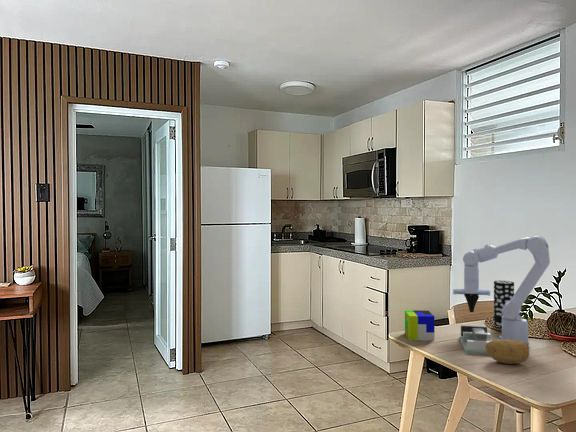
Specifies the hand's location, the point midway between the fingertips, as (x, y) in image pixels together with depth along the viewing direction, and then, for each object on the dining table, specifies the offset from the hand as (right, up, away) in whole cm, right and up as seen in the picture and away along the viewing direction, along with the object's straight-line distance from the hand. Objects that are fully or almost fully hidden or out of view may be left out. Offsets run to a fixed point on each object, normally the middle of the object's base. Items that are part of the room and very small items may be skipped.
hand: (471, 311), depth 190 cm
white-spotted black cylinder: (+20, -10, +13) cm, 26 cm away
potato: (-1, -11, -33) cm, 35 cm away
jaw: (-2, -9, -9) cm, 13 cm away
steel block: (-4, -9, -17) cm, 20 cm away
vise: (-4, -10, -15) cm, 19 cm away
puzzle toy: (-23, -11, -1) cm, 25 cm away
